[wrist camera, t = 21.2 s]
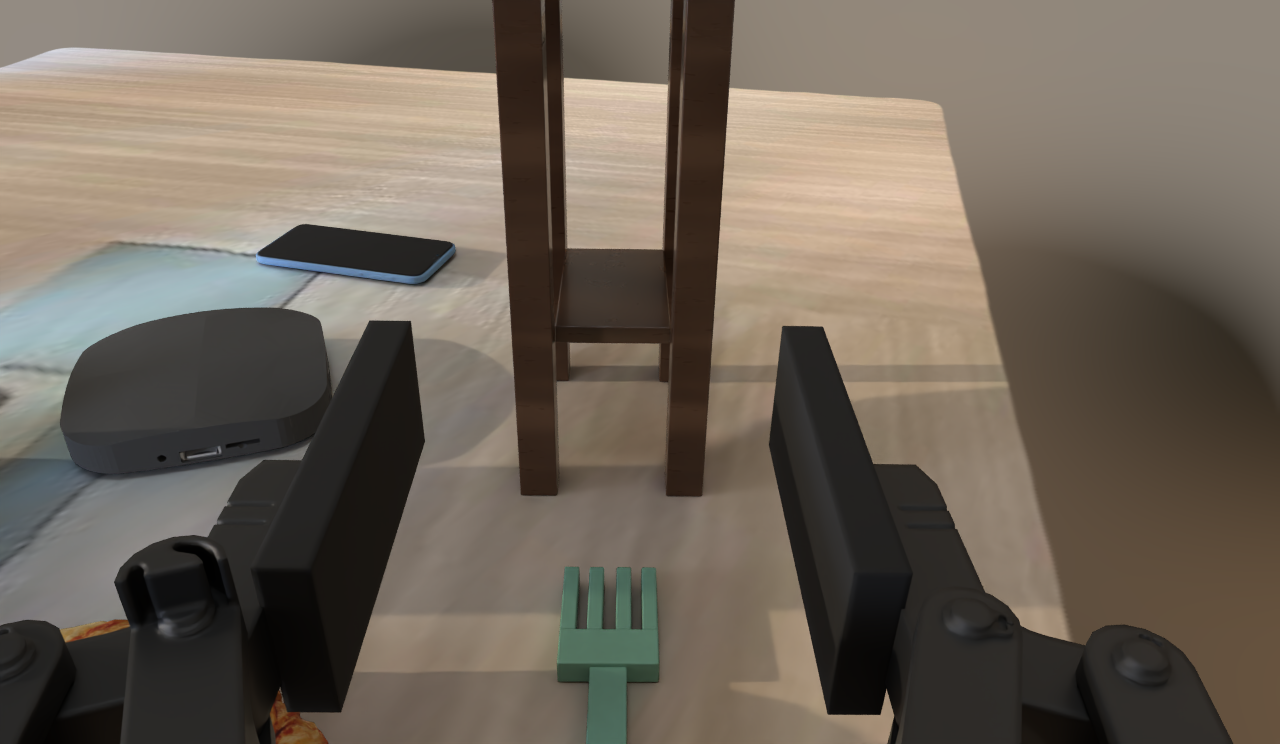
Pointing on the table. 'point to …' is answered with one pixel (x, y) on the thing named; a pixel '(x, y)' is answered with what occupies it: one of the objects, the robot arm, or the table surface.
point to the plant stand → (611, 278)
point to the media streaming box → (196, 389)
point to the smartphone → (357, 253)
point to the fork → (608, 648)
